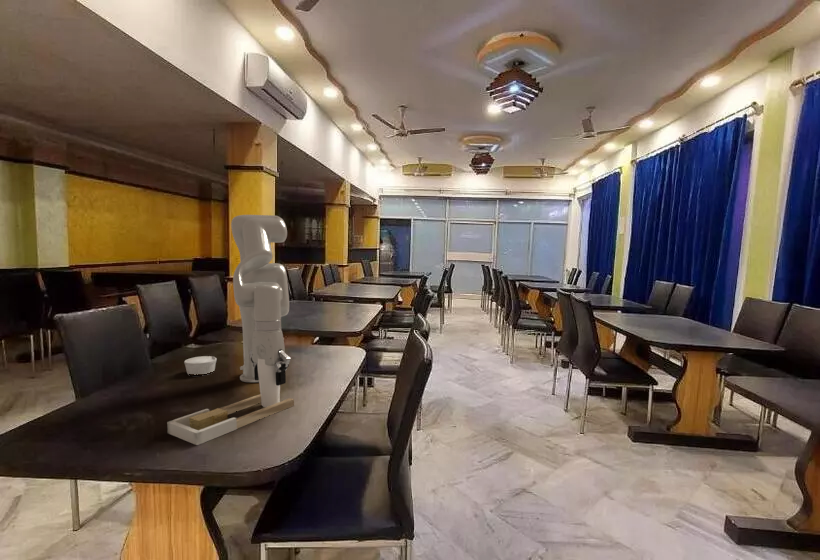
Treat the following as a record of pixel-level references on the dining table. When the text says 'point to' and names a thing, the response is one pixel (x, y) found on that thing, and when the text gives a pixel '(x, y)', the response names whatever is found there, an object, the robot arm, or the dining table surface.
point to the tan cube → (201, 421)
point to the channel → (259, 413)
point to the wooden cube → (218, 415)
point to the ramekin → (200, 365)
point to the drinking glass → (268, 384)
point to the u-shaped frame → (197, 437)
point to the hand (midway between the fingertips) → (270, 381)
